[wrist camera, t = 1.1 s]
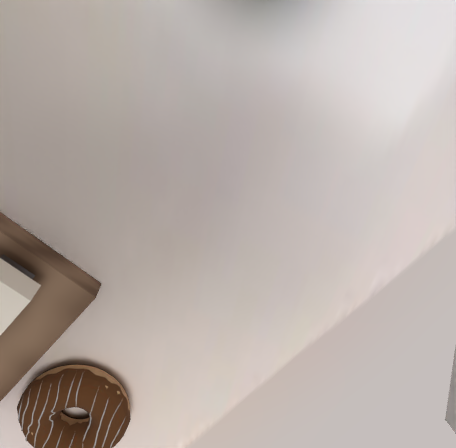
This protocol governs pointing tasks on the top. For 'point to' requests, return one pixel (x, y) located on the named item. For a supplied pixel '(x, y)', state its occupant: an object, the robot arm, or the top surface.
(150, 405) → the top surface
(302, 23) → the top surface
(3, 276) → the cream key
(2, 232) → the keypad
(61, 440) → the donut
